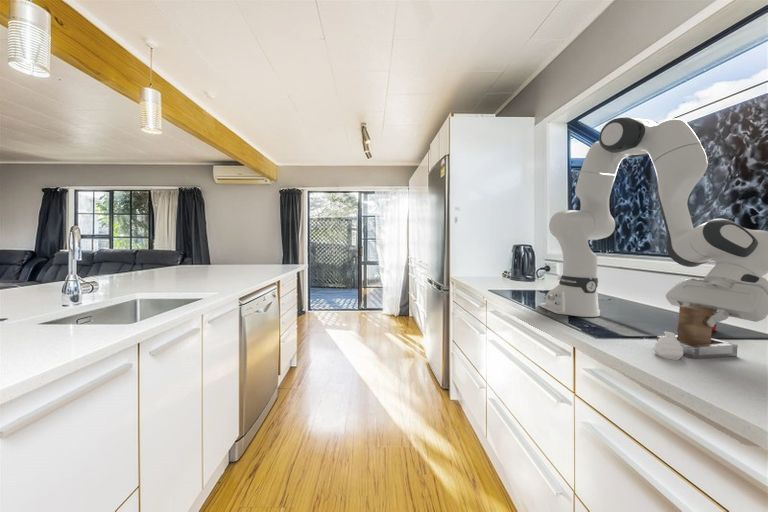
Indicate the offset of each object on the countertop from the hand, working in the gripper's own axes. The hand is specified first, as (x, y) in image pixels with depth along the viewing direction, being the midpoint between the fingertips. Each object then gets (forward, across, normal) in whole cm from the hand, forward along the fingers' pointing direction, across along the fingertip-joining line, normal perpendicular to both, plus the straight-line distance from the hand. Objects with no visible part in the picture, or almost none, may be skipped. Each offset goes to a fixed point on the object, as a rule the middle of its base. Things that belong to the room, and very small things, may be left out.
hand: (694, 321), depth 83 cm
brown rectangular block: (+4, 0, +4) cm, 5 cm away
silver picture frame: (+5, 0, +6) cm, 8 cm away
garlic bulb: (+13, +2, -2) cm, 13 cm away
